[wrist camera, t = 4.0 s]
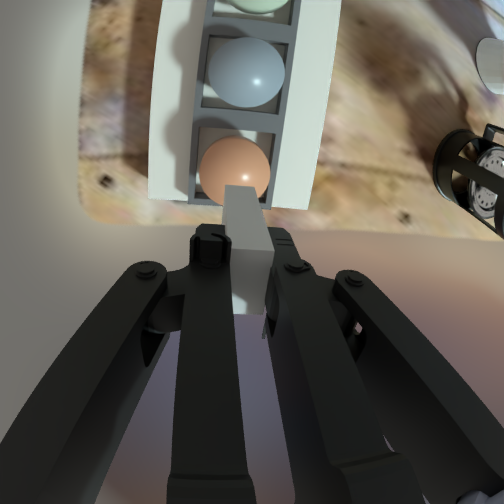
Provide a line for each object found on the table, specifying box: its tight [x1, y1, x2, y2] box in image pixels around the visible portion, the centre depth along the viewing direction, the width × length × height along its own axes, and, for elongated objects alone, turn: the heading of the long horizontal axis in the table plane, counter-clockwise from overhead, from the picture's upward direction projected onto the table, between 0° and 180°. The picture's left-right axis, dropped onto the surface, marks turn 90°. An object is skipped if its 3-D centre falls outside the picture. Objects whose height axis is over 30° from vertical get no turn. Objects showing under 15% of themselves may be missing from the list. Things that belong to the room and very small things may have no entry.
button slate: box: [208, 37, 285, 107], centre depth 18 cm, size 5×5×2 cm
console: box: [148, 0, 341, 210], centre depth 22 cm, size 22×14×6 cm, turn 173°
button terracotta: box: [199, 135, 270, 205], centre depth 22 cm, size 5×5×2 cm
